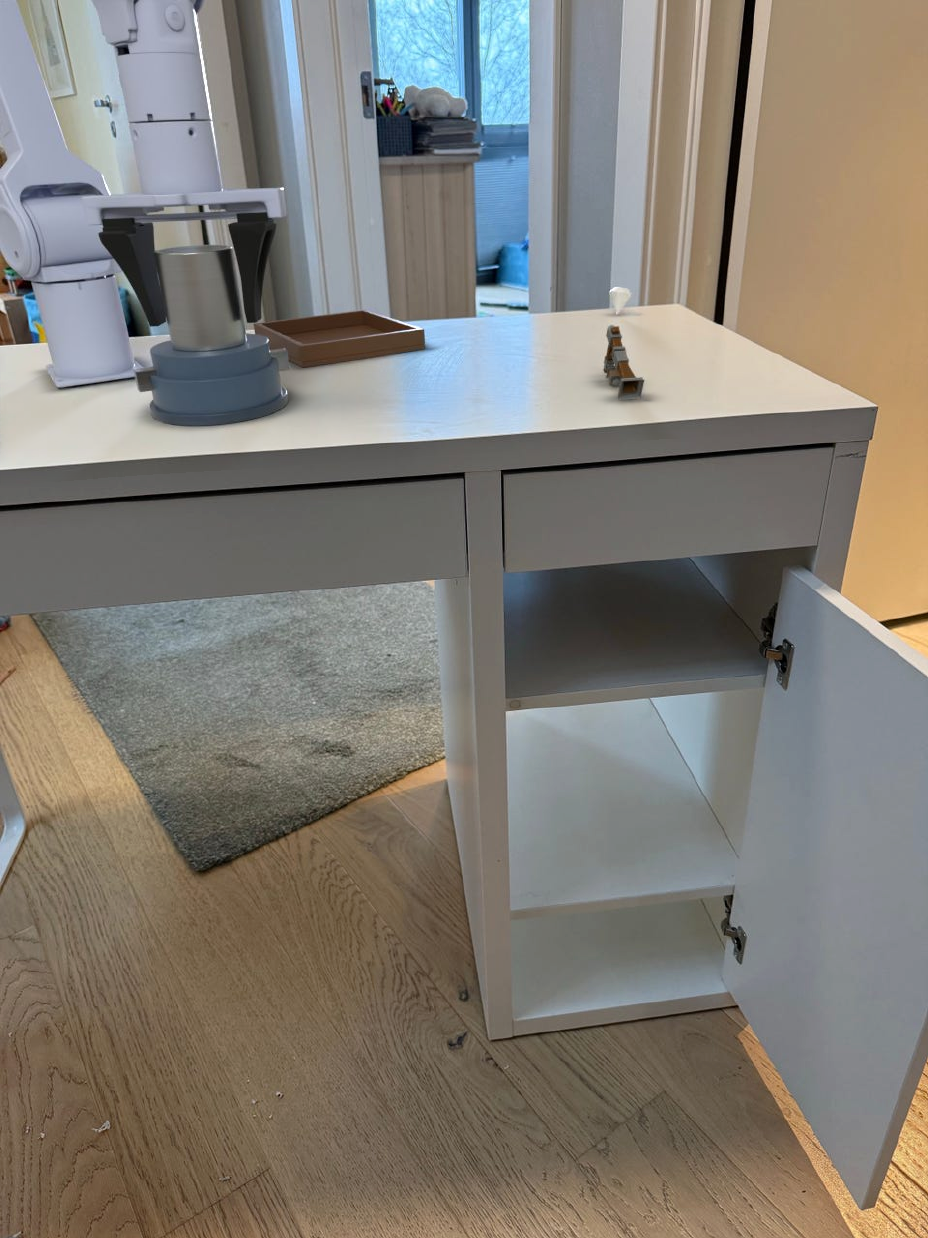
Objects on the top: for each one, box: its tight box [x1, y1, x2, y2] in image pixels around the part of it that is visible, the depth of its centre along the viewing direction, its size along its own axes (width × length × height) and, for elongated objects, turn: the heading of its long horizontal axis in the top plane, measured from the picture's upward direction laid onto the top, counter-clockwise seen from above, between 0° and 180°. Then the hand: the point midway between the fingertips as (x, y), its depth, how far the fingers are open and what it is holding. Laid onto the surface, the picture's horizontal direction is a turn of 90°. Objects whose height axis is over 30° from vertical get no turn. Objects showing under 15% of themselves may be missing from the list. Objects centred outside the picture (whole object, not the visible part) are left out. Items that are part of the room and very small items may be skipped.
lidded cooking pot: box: [134, 332, 291, 427], centre depth 69 cm, size 11×12×5 cm
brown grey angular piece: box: [602, 324, 645, 401], centre depth 71 cm, size 2×8×4 cm, turn 5°
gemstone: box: [608, 286, 634, 315], centre depth 100 cm, size 3×3×3 cm
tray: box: [253, 309, 426, 368], centre depth 90 cm, size 15×13×2 cm
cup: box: [154, 244, 247, 352], centre depth 67 cm, size 6×6×7 cm
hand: (206, 322), depth 67 cm, fingers open, 7 cm apart
